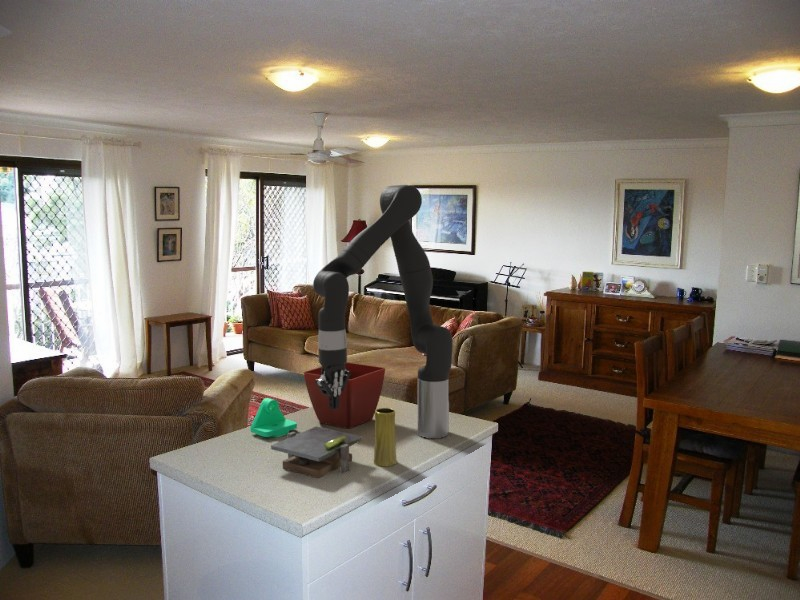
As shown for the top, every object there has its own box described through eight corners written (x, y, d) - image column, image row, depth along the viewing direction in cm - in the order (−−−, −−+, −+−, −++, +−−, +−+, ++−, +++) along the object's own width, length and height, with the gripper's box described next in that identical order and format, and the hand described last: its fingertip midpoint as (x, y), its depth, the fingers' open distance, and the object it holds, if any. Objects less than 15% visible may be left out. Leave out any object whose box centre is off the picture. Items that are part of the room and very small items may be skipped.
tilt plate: (316, 429, 185) (316, 420, 185) (362, 440, 177) (362, 430, 176) (271, 449, 170) (270, 439, 170) (319, 461, 162) (318, 451, 162)
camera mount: (266, 441, 193) (265, 407, 192) (250, 435, 198) (249, 402, 197) (298, 431, 202) (297, 398, 201) (282, 426, 207) (282, 394, 206)
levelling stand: (307, 450, 185) (307, 425, 184) (363, 463, 175) (362, 438, 174) (272, 465, 174) (271, 439, 173) (329, 481, 163) (329, 454, 162)
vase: (373, 458, 179) (373, 407, 177) (395, 458, 179) (395, 407, 177) (374, 467, 173) (374, 414, 171) (397, 466, 173) (397, 413, 171)
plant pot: (302, 423, 209) (301, 371, 207) (341, 409, 225) (341, 360, 223) (349, 434, 199) (349, 379, 197) (387, 418, 214) (386, 368, 212)
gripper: (327, 352, 169) (329, 417, 171) (358, 342, 180) (360, 404, 182) (305, 349, 173) (307, 413, 175) (336, 340, 184) (338, 400, 186)
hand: (334, 408), depth 179 cm, fingers closed
